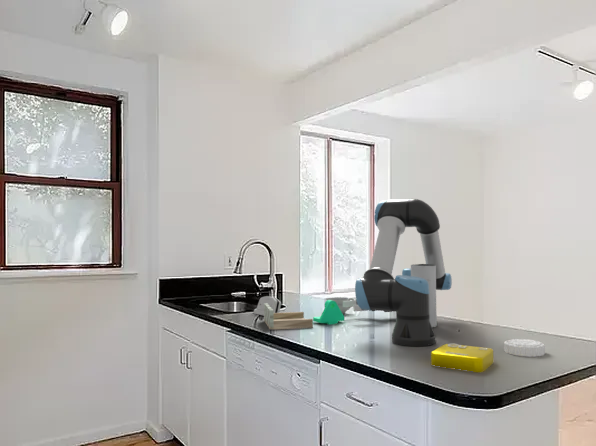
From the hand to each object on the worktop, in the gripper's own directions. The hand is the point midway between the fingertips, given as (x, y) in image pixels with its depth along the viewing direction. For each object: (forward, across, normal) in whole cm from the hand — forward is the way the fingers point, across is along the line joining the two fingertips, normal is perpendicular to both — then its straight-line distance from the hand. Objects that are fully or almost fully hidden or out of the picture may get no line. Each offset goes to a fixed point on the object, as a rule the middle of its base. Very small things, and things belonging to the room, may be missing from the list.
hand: (348, 306), depth 227 cm
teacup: (-4, +22, -7) cm, 23 cm away
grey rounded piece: (+30, +33, -7) cm, 45 cm away
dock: (+29, +2, -6) cm, 30 cm away
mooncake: (-32, -75, -7) cm, 82 cm away
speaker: (-25, -22, -7) cm, 34 cm away
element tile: (-5, -82, -7) cm, 82 cm away
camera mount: (+10, -1, -7) cm, 12 cm away
